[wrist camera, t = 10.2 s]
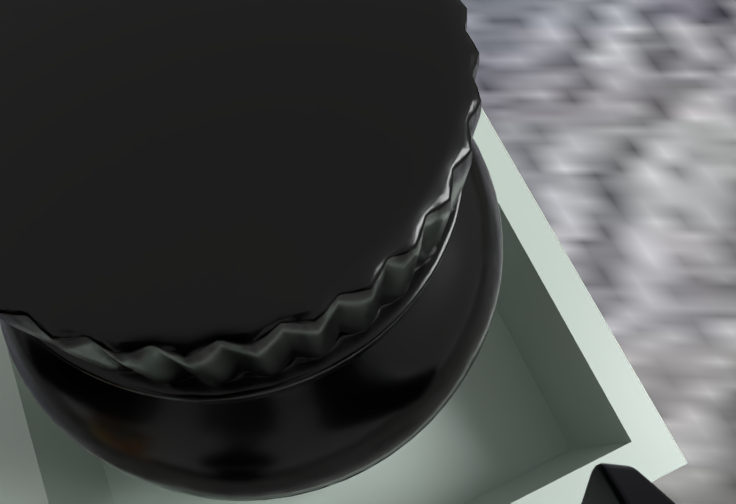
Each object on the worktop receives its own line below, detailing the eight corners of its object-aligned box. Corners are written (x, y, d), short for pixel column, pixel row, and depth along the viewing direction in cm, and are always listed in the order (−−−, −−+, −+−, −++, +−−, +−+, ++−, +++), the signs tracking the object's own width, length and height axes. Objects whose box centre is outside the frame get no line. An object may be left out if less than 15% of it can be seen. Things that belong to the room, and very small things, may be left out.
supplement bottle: (394, 205, 18) (494, -266, 6) (459, 453, 16) (776, 398, 4) (147, 252, 17) (-231, -190, 6) (179, 520, 15) (-330, 666, 4)
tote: (598, 466, 17) (687, 463, 12) (148, 697, 14) (69, 788, 10) (401, 98, 20) (418, -2, 16) (16, 240, 18) (-83, 167, 14)
